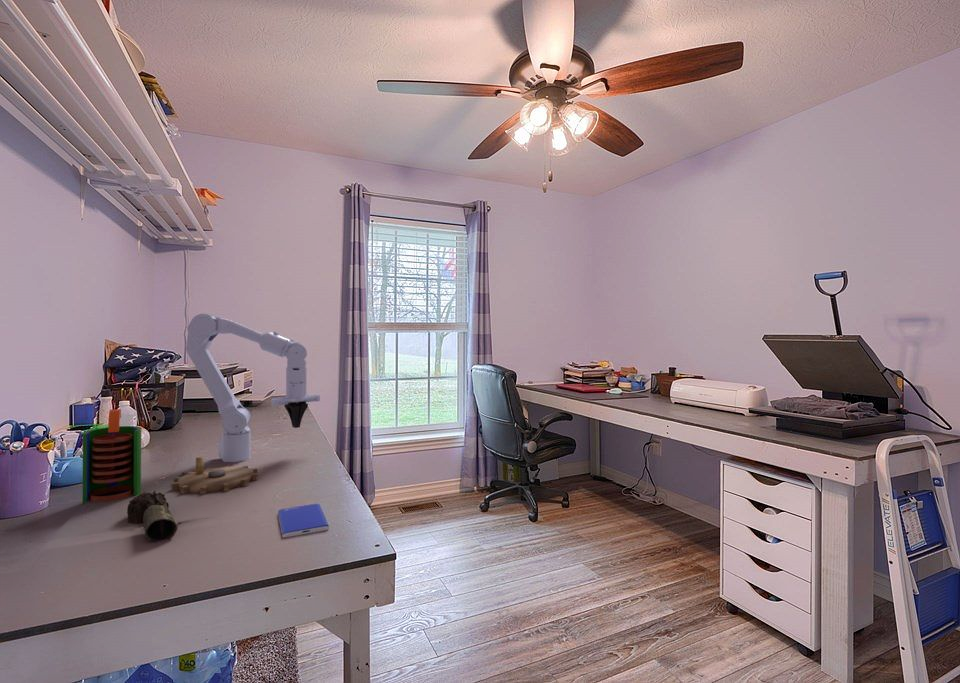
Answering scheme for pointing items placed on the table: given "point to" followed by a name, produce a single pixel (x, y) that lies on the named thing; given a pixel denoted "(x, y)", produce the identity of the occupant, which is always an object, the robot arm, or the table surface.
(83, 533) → the table surface
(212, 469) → the sprocket
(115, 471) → the motor
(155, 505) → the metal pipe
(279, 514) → the hard drive
